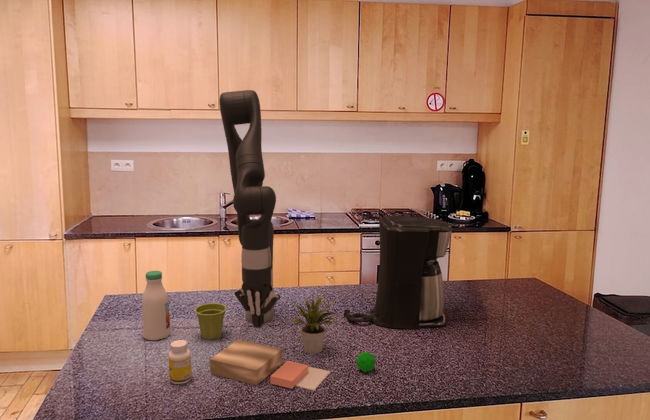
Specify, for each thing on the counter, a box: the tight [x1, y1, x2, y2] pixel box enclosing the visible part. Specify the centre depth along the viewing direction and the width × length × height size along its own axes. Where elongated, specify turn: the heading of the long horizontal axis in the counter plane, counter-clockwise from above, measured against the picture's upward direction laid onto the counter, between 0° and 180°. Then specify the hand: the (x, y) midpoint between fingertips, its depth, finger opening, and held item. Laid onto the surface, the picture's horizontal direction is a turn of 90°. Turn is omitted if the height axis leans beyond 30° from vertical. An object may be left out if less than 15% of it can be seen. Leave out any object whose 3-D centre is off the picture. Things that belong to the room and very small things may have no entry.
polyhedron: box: [355, 351, 377, 373], centre depth 132 cm, size 5×5×5 cm
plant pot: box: [194, 302, 227, 340], centre depth 152 cm, size 9×9×9 cm
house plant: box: [292, 294, 340, 354], centre depth 142 cm, size 14×14×16 cm
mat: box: [294, 366, 331, 391], centre depth 129 cm, size 10×12×1 cm
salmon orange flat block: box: [269, 360, 309, 390], centre depth 127 cm, size 9×6×2 cm, turn 156°
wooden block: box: [209, 339, 283, 386], centre depth 133 cm, size 13×14×4 cm
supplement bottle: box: [168, 339, 193, 385], centre depth 126 cm, size 5×5×10 cm
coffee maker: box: [343, 215, 454, 330], centre depth 163 cm, size 23×32×34 cm
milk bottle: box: [141, 270, 171, 341], centre depth 151 cm, size 8×8×20 cm
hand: (258, 326), depth 132 cm, fingers closed
